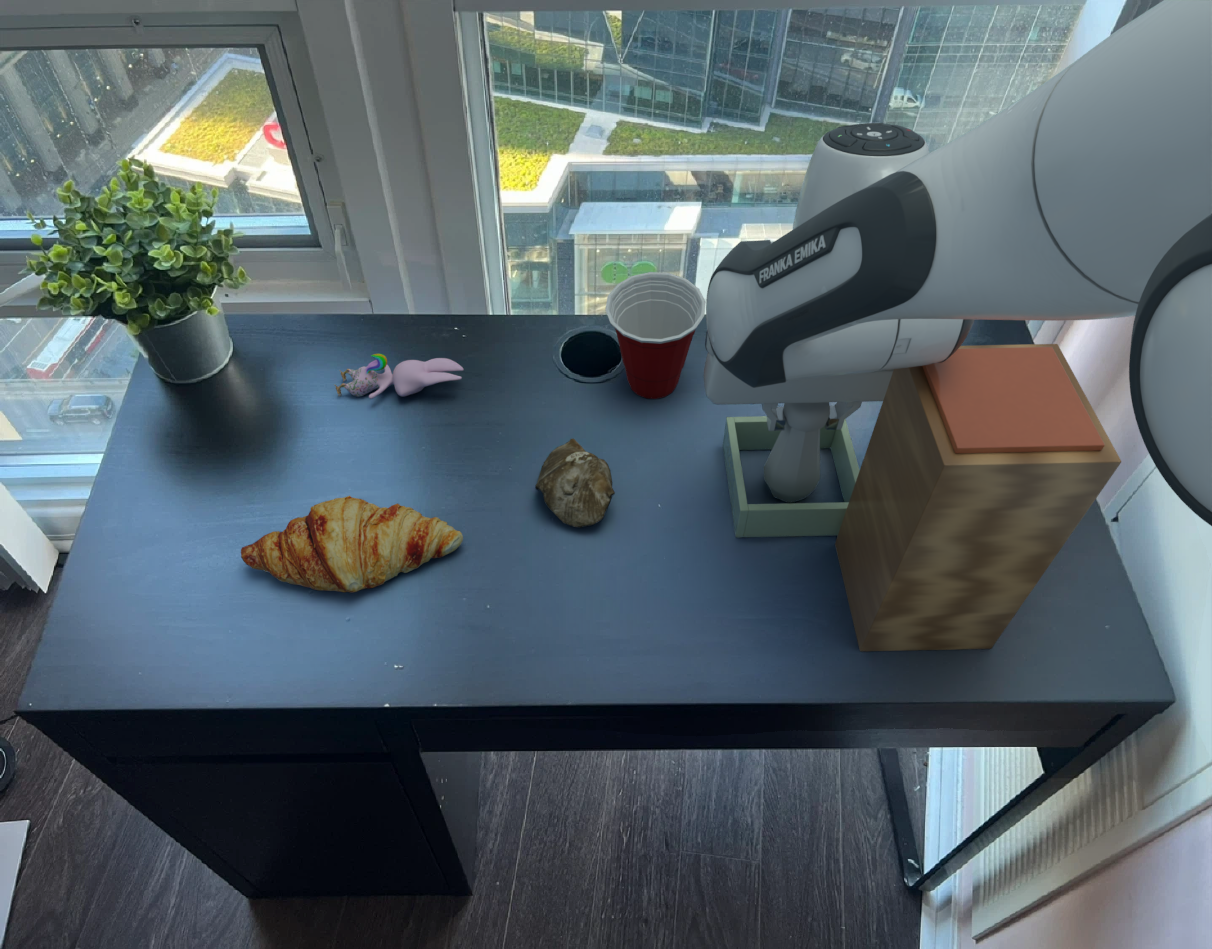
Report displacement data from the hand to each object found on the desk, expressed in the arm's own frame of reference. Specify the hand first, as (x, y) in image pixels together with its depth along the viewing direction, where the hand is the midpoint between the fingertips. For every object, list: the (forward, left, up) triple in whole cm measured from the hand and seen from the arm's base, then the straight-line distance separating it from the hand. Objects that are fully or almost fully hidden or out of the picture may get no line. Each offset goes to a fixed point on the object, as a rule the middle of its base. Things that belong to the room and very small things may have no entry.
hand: (803, 425), depth 81 cm
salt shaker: (0, 0, -10) cm, 10 cm away
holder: (0, 0, -10) cm, 10 cm away
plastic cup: (+20, -7, -10) cm, 23 cm away
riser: (-15, +6, -10) cm, 19 cm away
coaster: (-15, +6, +16) cm, 23 cm away
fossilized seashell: (+19, +12, -10) cm, 25 cm away
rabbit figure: (+45, +8, -10) cm, 47 cm away
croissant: (+34, +30, -10) cm, 46 cm away
